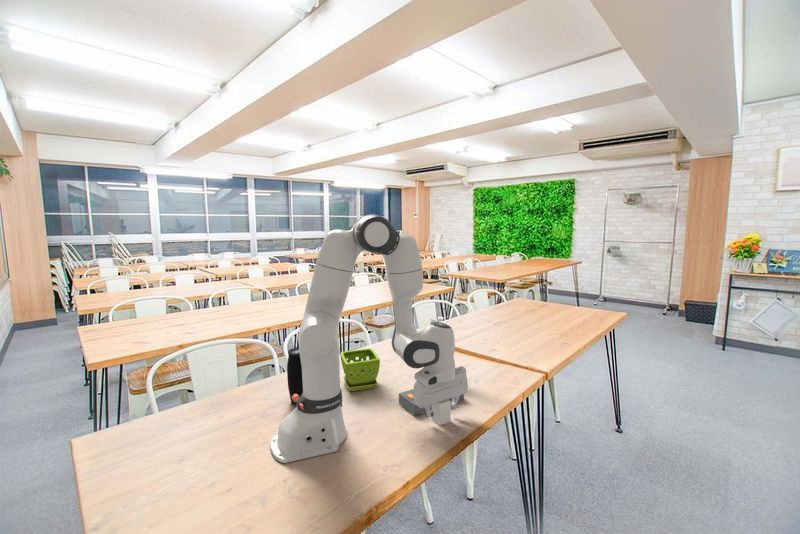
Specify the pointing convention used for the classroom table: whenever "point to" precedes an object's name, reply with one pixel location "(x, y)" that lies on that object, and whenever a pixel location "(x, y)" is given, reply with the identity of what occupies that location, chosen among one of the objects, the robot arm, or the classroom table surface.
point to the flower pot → (360, 369)
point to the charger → (442, 412)
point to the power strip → (409, 405)
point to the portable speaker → (294, 373)
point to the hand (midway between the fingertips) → (441, 412)
